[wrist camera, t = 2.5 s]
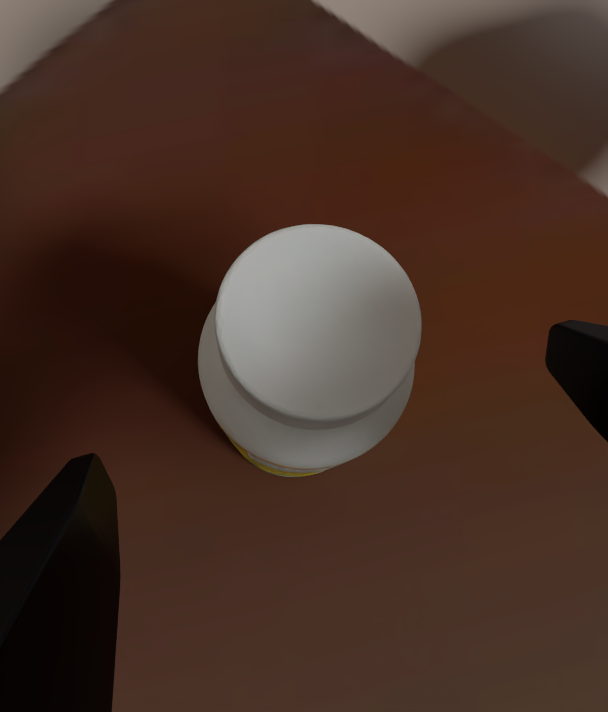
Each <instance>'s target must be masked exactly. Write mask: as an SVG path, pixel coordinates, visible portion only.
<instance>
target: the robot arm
mask: <svg viewBox="0 0 608 712" xmlns="http://www.w3.org/2000/svg"><path fill="white" fill-rule="evenodd" d="M545 362H546V366H547V368H548V370H549V372H550V373H551V374H552V376H553V377H554V378H555V380H556V381H557V382H558V383H559V385H560V386H561V387H562V388H563V390H564V391H565V392H566V393H567V395H568V396H569V397H570V399H571V400H572V401H573V402H574V404H575V405H576V406H577V407H578V409H579V410H580V411H581V412H582V414H583V415H584V416H585V418H586V419H587V420H588V421H589V422H590V424H591V425H592V426H593V427H594V428H595V429H596V430H597V431H598V433H599V434H600V435H601V436H602V437H603V438H604V439H605V440H606V441H607V442H608V326H605V325H599V324H593V323H588V322H582V321H577V320H568V321H565V322H561V323H558V324H555V325H553V326H552V327H551V329H550V330H549V336H548V343H547V350H546V357H545ZM119 595H120V555H119V537H118V519H117V501H116V493H115V489H114V486H113V484H112V482H111V480H110V478H109V476H108V474H107V472H106V470H105V468H104V466H103V464H102V462H101V460H100V458H99V457H98V455H97V454H94V453H90V454H87V455H83V456H79V457H76V458H73V459H71V460H70V461H69V462H68V463H67V464H66V465H65V466H64V467H63V469H62V470H61V471H60V472H59V473H58V474H57V475H56V477H55V478H54V479H53V480H52V481H51V482H50V484H49V485H48V486H47V487H46V488H45V489H44V491H43V492H42V493H41V494H40V495H39V496H38V497H37V499H36V500H35V501H34V502H33V503H32V504H31V506H30V507H29V508H28V509H27V510H26V511H25V512H24V514H23V515H22V516H21V517H20V518H19V519H18V521H17V522H16V523H15V524H14V525H13V526H12V528H11V529H10V530H9V531H8V532H7V533H6V534H5V536H4V537H3V538H2V539H1V540H0V712H112V699H113V684H114V669H115V654H116V640H117V625H118V610H119Z"/></svg>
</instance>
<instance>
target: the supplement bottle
mask: <svg viewBox="0 0 608 712" xmlns="http://www.w3.org/2000/svg"><path fill="white" fill-rule="evenodd" d="M420 340H421V312H420V307H419V302H418V299H417V296H416V293H415V290H414V288H413V286H412V284H411V282H410V280H409V278H408V276H407V275H406V273H405V271H404V270H403V269H402V268H401V266H400V265H399V264H398V263H397V261H396V260H395V259H394V258H393V257H392V256H391V255H390V254H389V253H388V252H387V251H385V250H384V249H383V248H382V247H381V246H379V245H378V244H376V243H375V242H373V241H372V240H370V239H369V238H366V237H364V236H362V235H361V234H358V233H356V232H353V231H351V230H348V229H345V228H341V227H336V226H331V225H321V224H305V225H298V226H293V227H288V228H284V229H281V230H278V231H275V232H272V233H270V234H268V235H266V236H264V237H263V238H261V239H259V240H258V241H256V242H254V243H253V244H252V245H251V246H249V247H248V248H247V249H246V250H245V251H244V252H243V253H242V254H241V255H240V256H239V257H238V258H237V259H236V260H235V262H234V263H233V264H232V266H231V267H230V269H229V270H228V272H227V274H226V275H225V277H224V279H223V281H222V284H221V286H220V289H219V292H218V296H217V300H216V303H215V304H214V306H213V307H212V309H211V311H210V313H209V315H208V317H207V319H206V322H205V324H204V327H203V330H202V333H201V337H200V343H199V349H198V370H199V378H200V382H201V387H202V390H203V393H204V396H205V399H206V401H207V404H208V406H209V408H210V410H211V412H212V414H213V416H214V417H215V419H216V421H217V422H218V424H219V425H220V427H221V429H222V430H223V431H224V432H225V434H226V435H227V436H228V438H229V439H230V440H231V442H232V444H233V445H234V446H235V447H236V448H237V449H238V451H239V452H240V453H241V454H242V455H243V456H244V457H245V458H246V459H247V460H248V461H249V462H251V463H252V464H253V465H255V466H256V467H258V468H260V469H262V470H264V471H266V472H269V473H272V474H275V475H280V476H286V477H299V476H308V475H312V474H316V473H320V472H322V471H325V470H327V469H330V468H332V467H335V466H338V465H340V464H343V463H345V462H348V461H350V460H352V459H354V458H356V457H358V456H360V455H362V454H363V453H365V452H367V451H368V450H370V449H371V448H372V447H374V446H375V445H376V444H377V443H379V442H380V441H381V440H382V439H383V438H384V437H385V436H386V435H387V434H388V433H389V432H390V430H391V429H392V428H393V427H394V425H395V424H396V422H397V421H398V420H399V418H400V416H401V414H402V412H403V410H404V408H405V406H406V404H407V402H408V399H409V396H410V392H411V389H412V384H413V378H414V361H415V359H416V356H417V353H418V349H419V345H420Z"/></svg>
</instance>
